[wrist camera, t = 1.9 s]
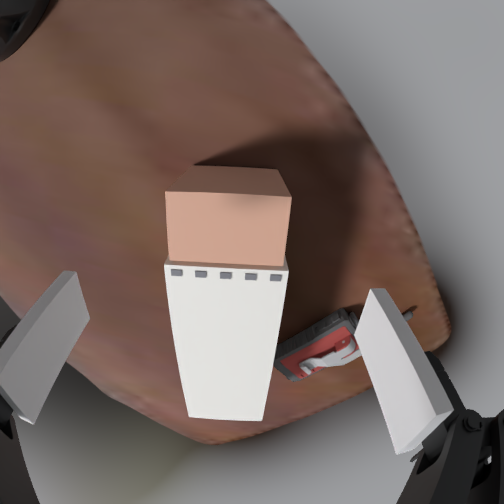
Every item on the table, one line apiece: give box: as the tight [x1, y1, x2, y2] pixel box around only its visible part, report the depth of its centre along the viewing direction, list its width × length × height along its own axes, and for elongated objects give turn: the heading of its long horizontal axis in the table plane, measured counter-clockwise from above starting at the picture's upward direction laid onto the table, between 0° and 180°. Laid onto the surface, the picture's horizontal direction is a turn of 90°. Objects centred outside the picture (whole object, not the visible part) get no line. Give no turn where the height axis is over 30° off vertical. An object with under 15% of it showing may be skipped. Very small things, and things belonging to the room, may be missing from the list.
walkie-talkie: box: [273, 308, 413, 382], centre depth 34 cm, size 9×4×20 cm
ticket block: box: [164, 256, 289, 421], centre depth 29 cm, size 22×9×9 cm, turn 176°
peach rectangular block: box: [165, 166, 292, 266], centre depth 23 cm, size 5×8×9 cm, turn 86°
